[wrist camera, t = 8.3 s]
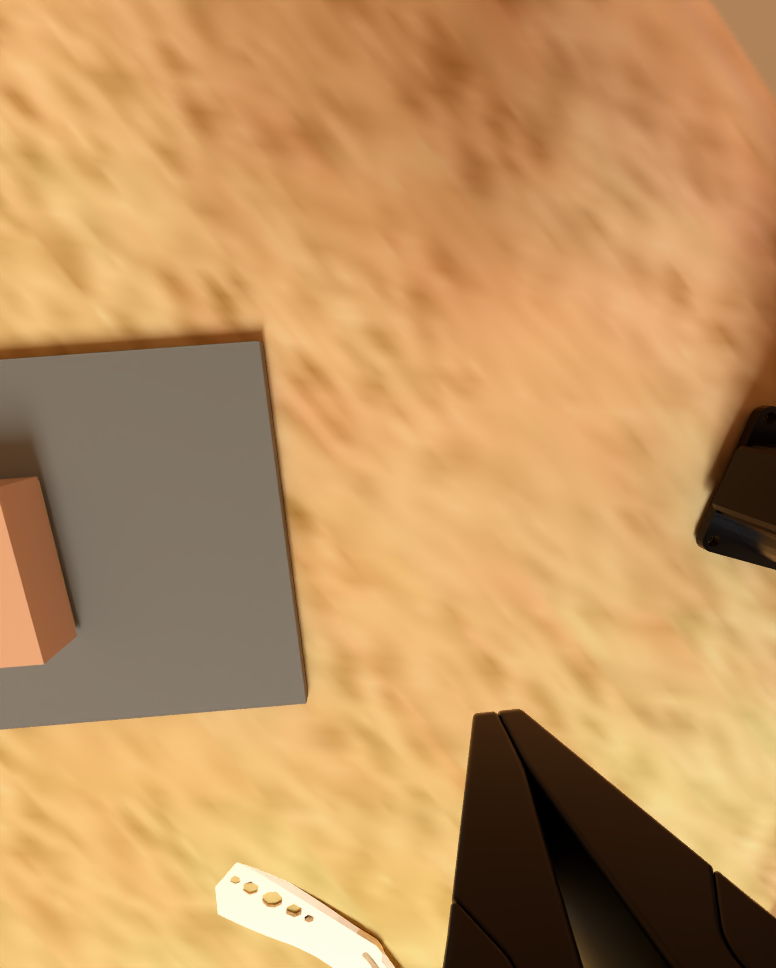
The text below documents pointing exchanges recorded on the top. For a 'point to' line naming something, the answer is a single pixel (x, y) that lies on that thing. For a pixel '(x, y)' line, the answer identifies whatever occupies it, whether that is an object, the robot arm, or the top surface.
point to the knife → (297, 920)
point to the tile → (30, 579)
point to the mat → (156, 533)
